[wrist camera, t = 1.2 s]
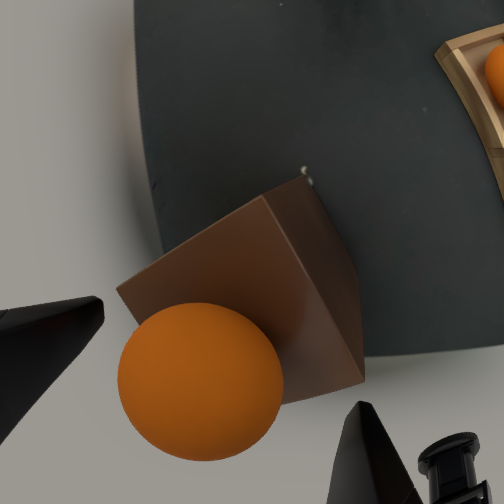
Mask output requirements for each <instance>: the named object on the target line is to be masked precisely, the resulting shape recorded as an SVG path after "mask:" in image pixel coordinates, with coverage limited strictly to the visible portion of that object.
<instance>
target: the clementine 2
mask: <svg viewBox="0 0 504 504" xmlns="http://www.w3.org/2000/svg"><path fill="white" fill-rule="evenodd" d="M485 76H486V81H487V84H488V87H489V89H490V91H491V93H492V95H493V97H494V98H495V100H496V101H497V102H498V104H499V105H500V106H501V107H502V108H503V109H504V44H502V45H499V46H497V47H495V48H494V49H493V50H492V51H491V52H490V53H489V55H488V57H487V60H486V64H485Z"/></svg>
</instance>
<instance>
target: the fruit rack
mask: <svg viewBox="0 0 504 504" xmlns="http://www.w3.org/2000/svg"><path fill="white" fill-rule="evenodd" d="M502 44H504V24H500V25H496V26H492V27H489V28H485V29H482V30H479V31H476V32H472V33H469V34H466V35H463V36H460V37H457V38H454V39H452V40H449V41H446V42H445V43H444V44H443V45H442V46H441V47H440V49H439V50H438V51H437V52H436V53H435V54H434V57H435V58H436V60H437V61H438V63H439V64H440V66H441V67H442V69H443V70H444V72H445V73H446V75H447V77H448V78H449V80H450V81H451V83H452V85H453V86H454V88H455V90H456V92H457V93H458V95H459V97H460V99H461V101H462V102H463V104H464V106H465V108H466V110H467V112H468V114H469V116H470V118H471V120H472V122H473V124H474V126H475V128H476V130H477V132H478V135H479V137H480V139H481V141H482V144H483V146H484V148H485V151H486V153H487V156H488V158H489V161H490V163H491V166H492V169H493V171H494V174H495V177H496V180H497V183H498V186H499V189H500V192H501V195H502V199H503V202H504V109H503V108H502V107H501V106H500V105H499V104H498V102H497V101H496V100H495V98H494V97H493V95H492V93H491V91H490V89H489V87H488V84H487V81H486V76H485V64H486V60H487V57H488V55H489V53H490V52H491V51H492V50H493V49H494V48H495V47H497V46H499V45H502Z"/></svg>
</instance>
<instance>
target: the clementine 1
mask: <svg viewBox="0 0 504 504" xmlns="http://www.w3.org/2000/svg"><path fill="white" fill-rule="evenodd" d="M118 389H119V395H120V399H121V402H122V405H123V408H124V411H125V413H126V414H127V416H128V418H129V420H130V422H131V423H132V425H133V426H134V427H135V428H136V430H137V431H138V432H139V433H140V434H141V435H142V436H143V437H144V438H145V439H146V440H147V441H148V442H150V443H151V444H152V445H154V446H155V447H157V448H158V449H160V450H162V451H164V452H166V453H168V454H170V455H173V456H176V457H179V458H183V459H187V460H193V461H214V460H220V459H225V458H228V457H231V456H234V455H237V454H239V453H241V452H243V451H245V450H246V449H248V448H250V447H251V446H252V445H254V444H255V443H256V442H257V441H259V440H260V439H261V438H262V437H263V436H264V435H265V434H266V432H267V431H268V430H269V428H270V427H271V425H272V424H273V422H274V421H275V418H276V416H277V413H278V411H279V409H280V406H281V401H282V396H283V374H282V369H281V365H280V361H279V359H278V356H277V354H276V351H275V349H274V347H273V346H272V344H271V342H270V341H269V340H268V338H267V337H266V335H265V334H264V333H263V332H262V331H261V330H260V329H259V328H258V327H257V326H256V325H255V324H254V323H253V322H251V321H250V320H249V319H247V318H246V317H244V316H243V315H241V314H239V313H237V312H235V311H233V310H231V309H228V308H225V307H222V306H219V305H214V304H209V303H185V304H180V305H175V306H171V307H169V308H166V309H164V310H162V311H159V312H157V313H156V314H154V315H152V316H151V317H149V318H148V319H147V320H145V321H144V322H143V323H142V324H141V325H140V326H139V327H138V328H137V329H136V330H135V331H134V333H133V334H132V336H131V337H130V339H129V340H128V342H127V343H126V345H125V347H124V350H123V352H122V355H121V358H120V363H119V367H118Z"/></svg>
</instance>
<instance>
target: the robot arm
mask: <svg viewBox="0 0 504 504" xmlns="http://www.w3.org/2000/svg"><path fill="white" fill-rule="evenodd" d="M104 319H105V317H104V304H103V301H102V300H101V299H99V298H98V297H96V296H87V297H81V298H75V299H69V300H63V301H57V302H51V303H44V304H38V305H32V306H26V307H19V308H13V309H9V310H8V309H6V310H0V445H1V444H2V442H3V441H4V440H5V439H6V437H7V436H8V435H9V434H10V433H11V431H12V430H13V429H14V428H15V426H16V425H17V424H18V422H19V421H20V420H21V419H22V418H23V417H24V415H25V414H26V413H27V412H28V410H30V408H31V407H32V406H33V405H34V404H35V403H36V402H37V400H38V399H39V398H40V397H41V396H42V395H43V393H44V392H45V391H46V390H47V389H48V388H49V387H50V385H52V383H53V382H54V381H55V380H56V379H57V378H58V377H59V376H60V375H61V374H62V372H63V371H64V370H65V369H66V368H67V367H68V366H69V365H70V364H71V363H72V362H73V361H74V359H75V358H76V357H77V356H78V355H79V354H80V353H81V352H82V350H83V349H84V348H85V347H86V345H87V344H88V342H89V341H90V340H91V339H92V337H93V336H94V335H95V333H96V332H97V331H98V330H99V328H100V327H101V326H102V324H103V323H104ZM474 456H475V441H474V439H471V440H469V441H467V442H464V443H462V444H460V445H457V446H455V447H452V448H450V449H448V450H445V451H442V452H440V453H437V454H434V455H431V456H429V457H426V458H424V459H422V464H423V467H424V470H425V474H426V477H427V479H429V499H430V504H492V496H491V490H490V487H489V484H488V482H487V480H484V481H482V483H480V484H478V485H477V480H476V474H475V469H474V463H473V462H474ZM481 497H483V499H480V498H481ZM326 504H423V502H422V500H421V498H420V496H419V494H418V492H417V490H416V488H414V484H413V482H412V481H411V479H410V476H409V474H408V472H407V470H406V469H405V466H404V465H403V463H402V461H401V459H400V457H399V455H398V453H397V451H396V449H395V447H394V445H393V443H392V441H391V439H390V437H389V436H388V434H387V432H386V430H385V428H384V426H383V425H382V422H381V421H380V419H379V417H378V415H377V413H376V411H375V409H374V408H373V406H372V404H370V403H368V402H364V401H358V402H357V403H356V404H355V406H354V407H353V409H352V410H351V411H350V413H349V414H348V415H347V417H346V419H345V422H344V426H343V430H342V434H341V438H340V442H339V446H338V449H337V453H336V457H335V460H334V465H333V471H332V477H331V482H330V488H329V493H328V498H327V503H326Z"/></svg>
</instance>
